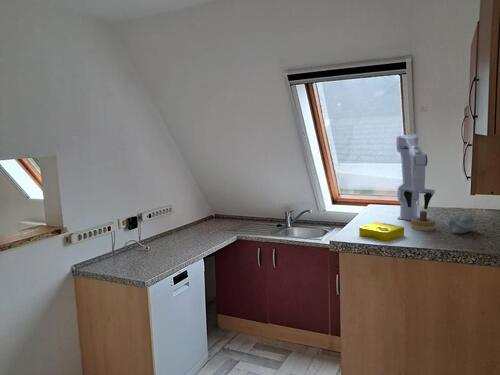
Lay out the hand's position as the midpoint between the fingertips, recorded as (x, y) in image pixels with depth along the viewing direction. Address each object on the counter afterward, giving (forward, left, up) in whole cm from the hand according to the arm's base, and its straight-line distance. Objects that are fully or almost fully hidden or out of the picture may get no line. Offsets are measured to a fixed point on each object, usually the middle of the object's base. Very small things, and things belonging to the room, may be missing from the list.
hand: (417, 207), depth 197 cm
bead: (+1, +3, -9) cm, 10 cm away
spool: (-2, +19, -10) cm, 22 cm away
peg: (+1, +3, -9) cm, 10 cm away
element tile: (+25, -6, -10) cm, 28 cm away
